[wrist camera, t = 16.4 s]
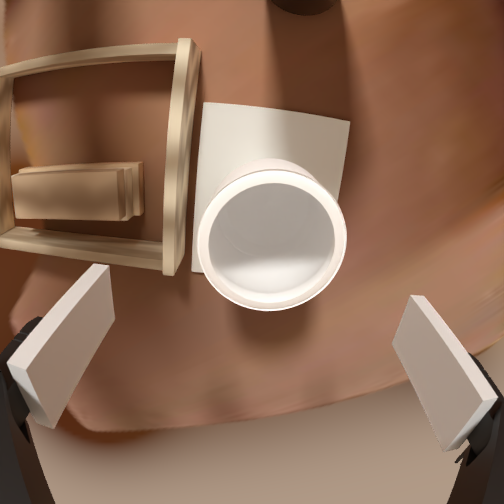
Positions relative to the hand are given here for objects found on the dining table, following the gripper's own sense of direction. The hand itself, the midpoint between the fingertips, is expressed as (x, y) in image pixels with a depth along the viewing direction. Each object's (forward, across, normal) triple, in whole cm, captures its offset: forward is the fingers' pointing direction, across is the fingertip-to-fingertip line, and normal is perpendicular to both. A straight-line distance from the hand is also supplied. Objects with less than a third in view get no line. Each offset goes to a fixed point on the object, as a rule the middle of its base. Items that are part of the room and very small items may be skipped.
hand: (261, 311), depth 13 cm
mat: (+25, +1, -1) cm, 25 cm away
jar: (+24, +1, -1) cm, 24 cm away
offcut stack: (+25, -22, -2) cm, 33 cm away
